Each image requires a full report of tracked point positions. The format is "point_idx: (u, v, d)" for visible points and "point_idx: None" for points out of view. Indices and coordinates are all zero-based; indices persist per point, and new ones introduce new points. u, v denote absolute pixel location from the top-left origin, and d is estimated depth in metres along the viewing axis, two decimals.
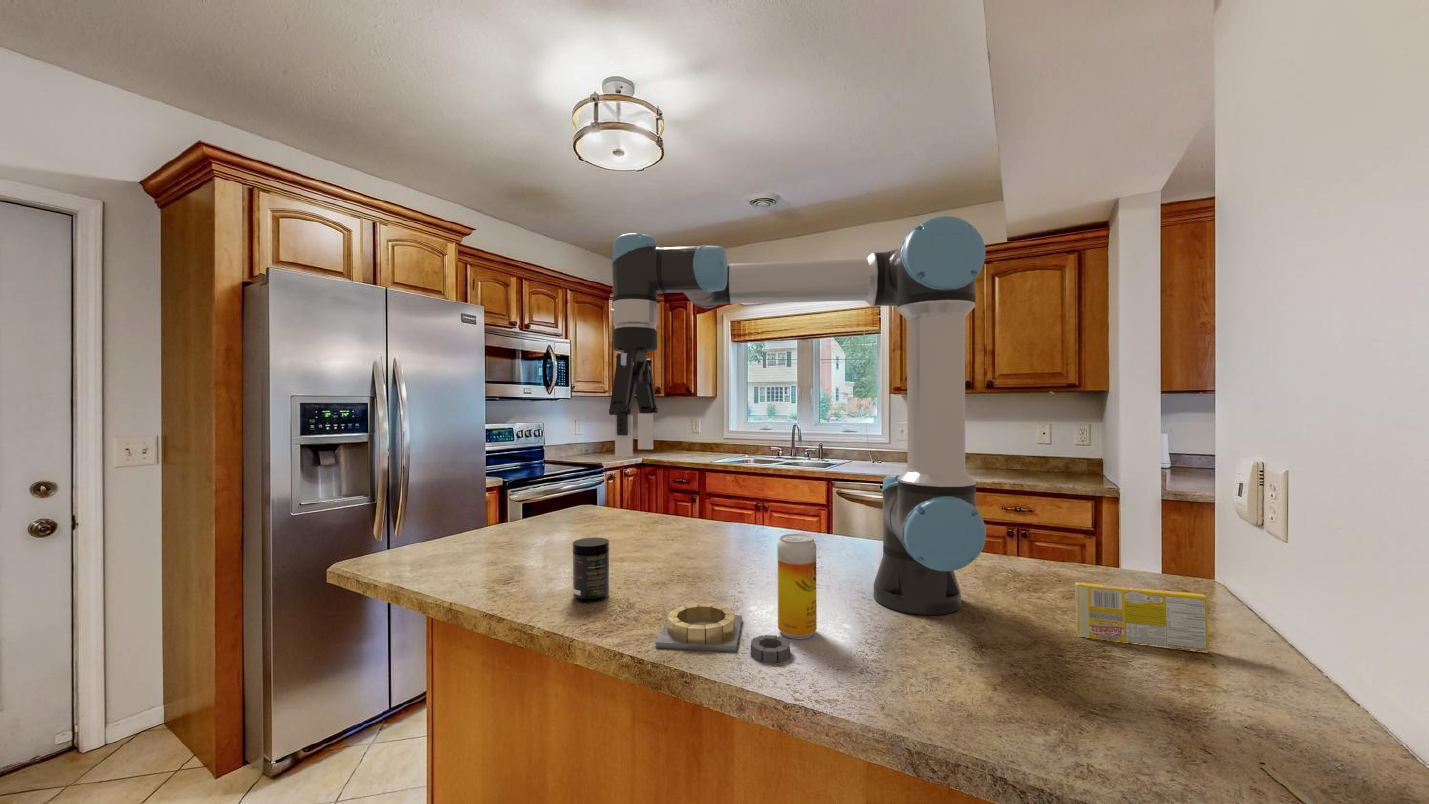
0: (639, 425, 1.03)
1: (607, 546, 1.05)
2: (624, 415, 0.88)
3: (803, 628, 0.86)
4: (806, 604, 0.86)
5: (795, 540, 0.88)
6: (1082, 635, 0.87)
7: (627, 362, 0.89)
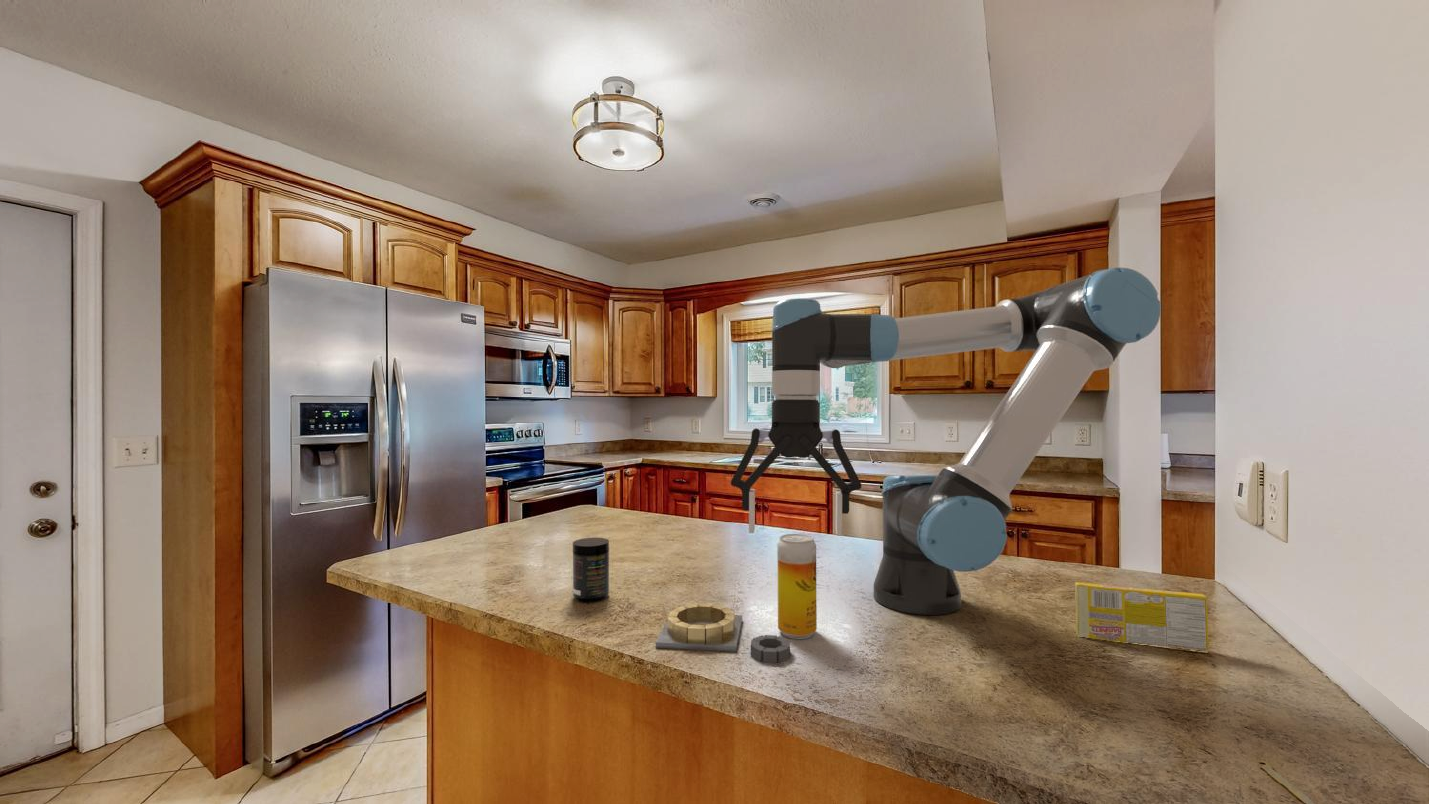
0: None
1: (607, 546, 1.05)
2: None
3: (803, 628, 0.86)
4: (806, 604, 0.86)
5: (795, 540, 0.88)
6: (1082, 635, 0.87)
7: None
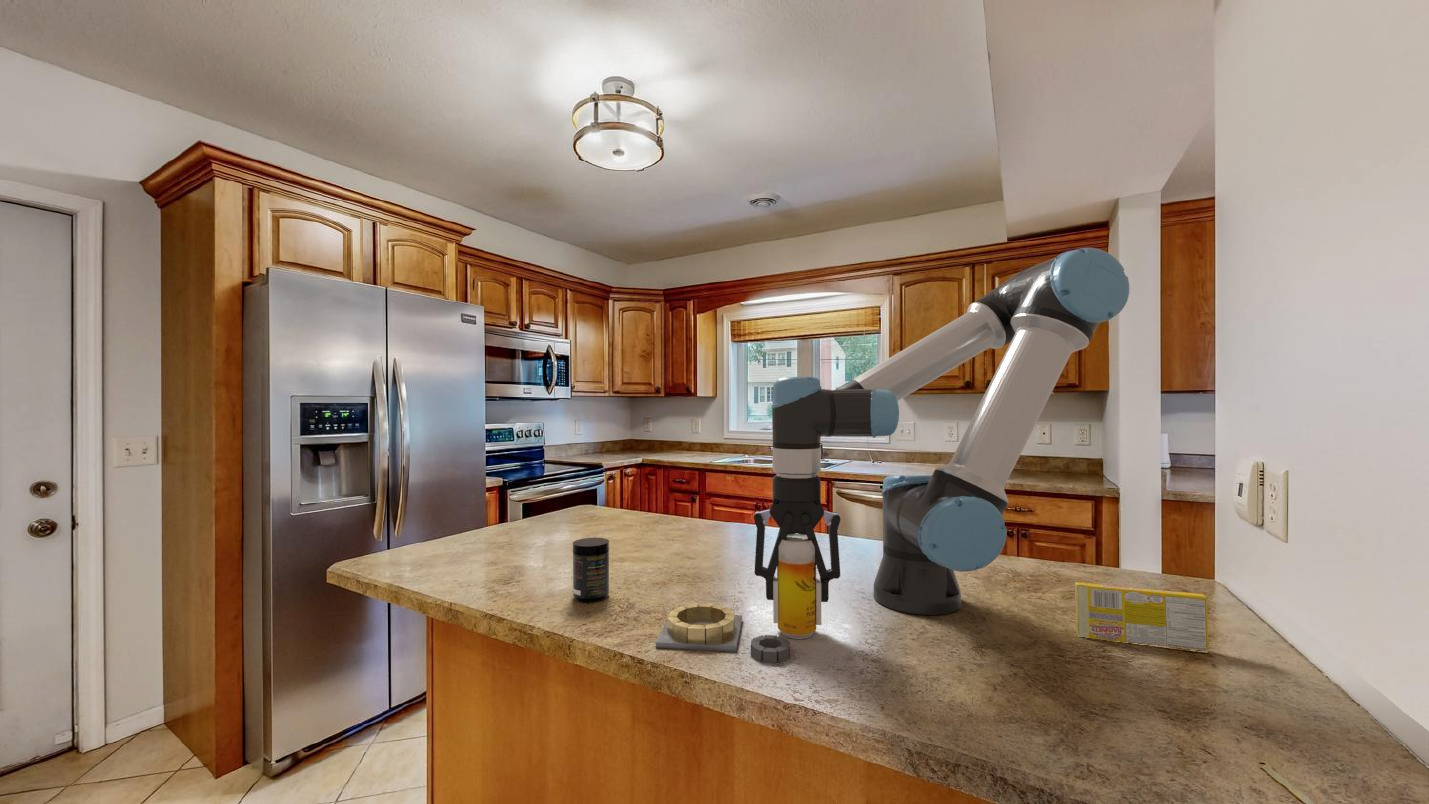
0: None
1: (607, 546, 1.05)
2: (765, 579, 0.89)
3: (803, 628, 0.86)
4: (806, 604, 0.86)
5: (795, 540, 0.88)
6: (1082, 635, 0.87)
7: (756, 523, 0.89)
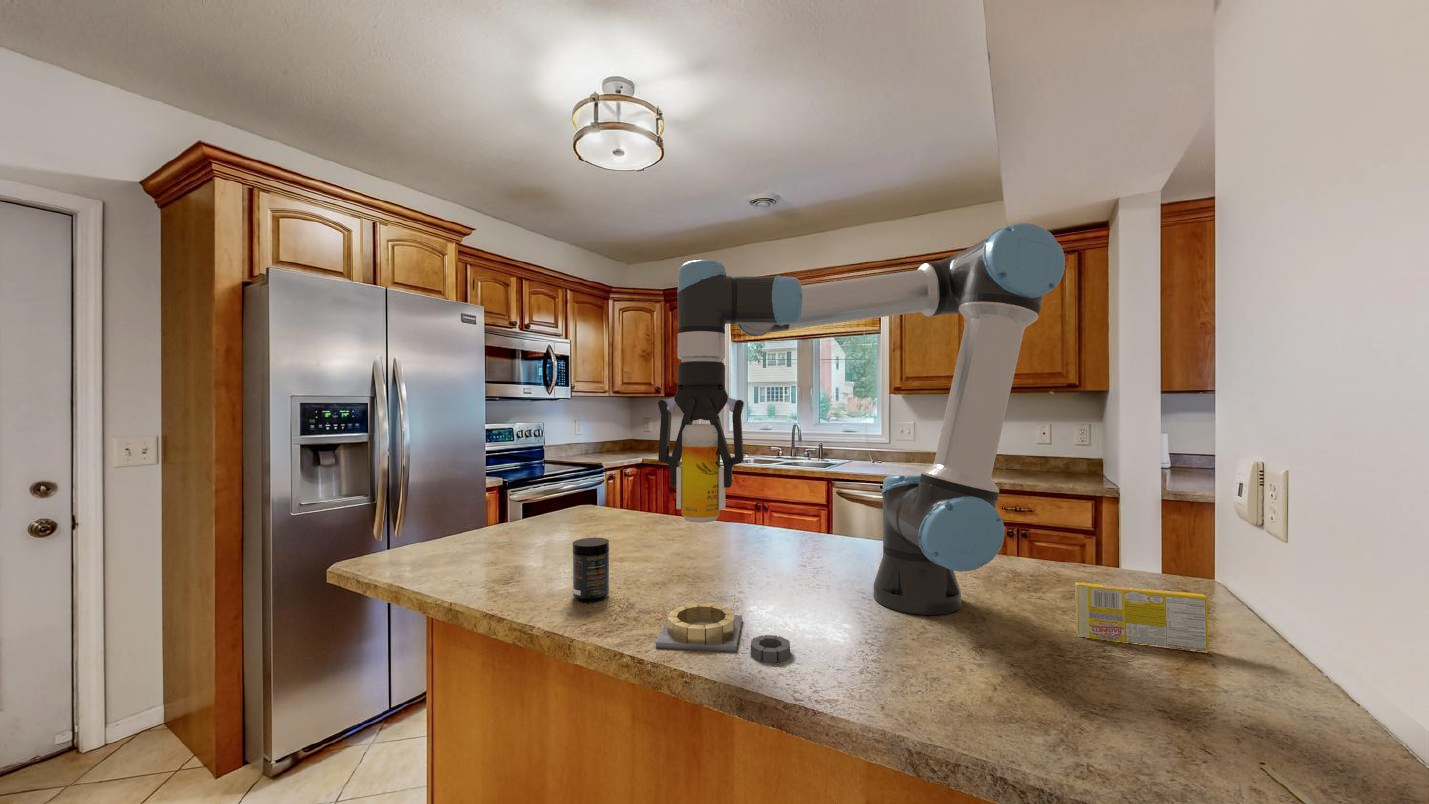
0: None
1: (607, 546, 1.05)
2: (670, 466, 0.89)
3: (704, 511, 0.86)
4: (707, 487, 0.86)
5: None
6: (1082, 635, 0.87)
7: None
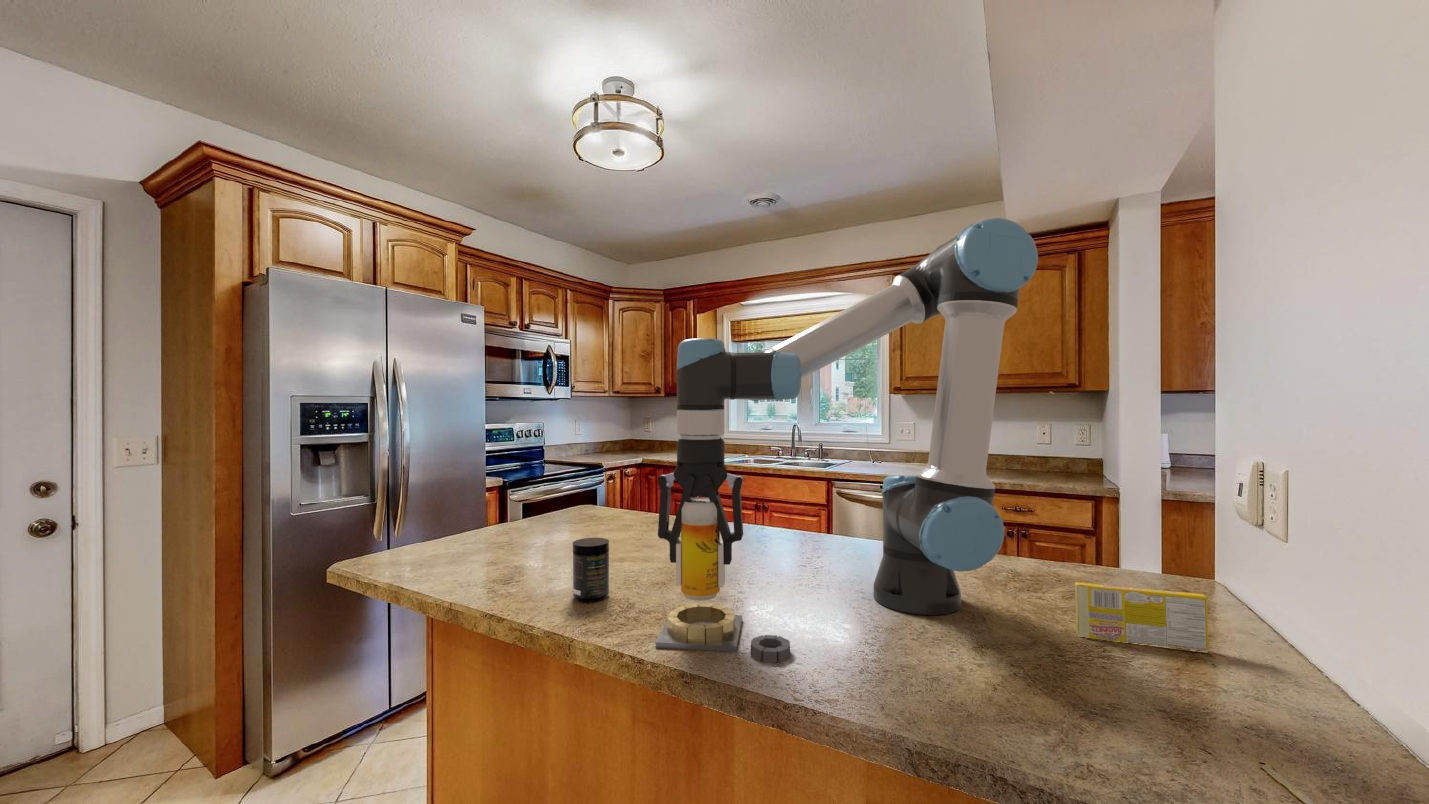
0: None
1: (607, 546, 1.05)
2: (669, 542, 0.89)
3: (704, 590, 0.86)
4: (707, 566, 0.86)
5: (698, 502, 0.88)
6: (1082, 635, 0.87)
7: None
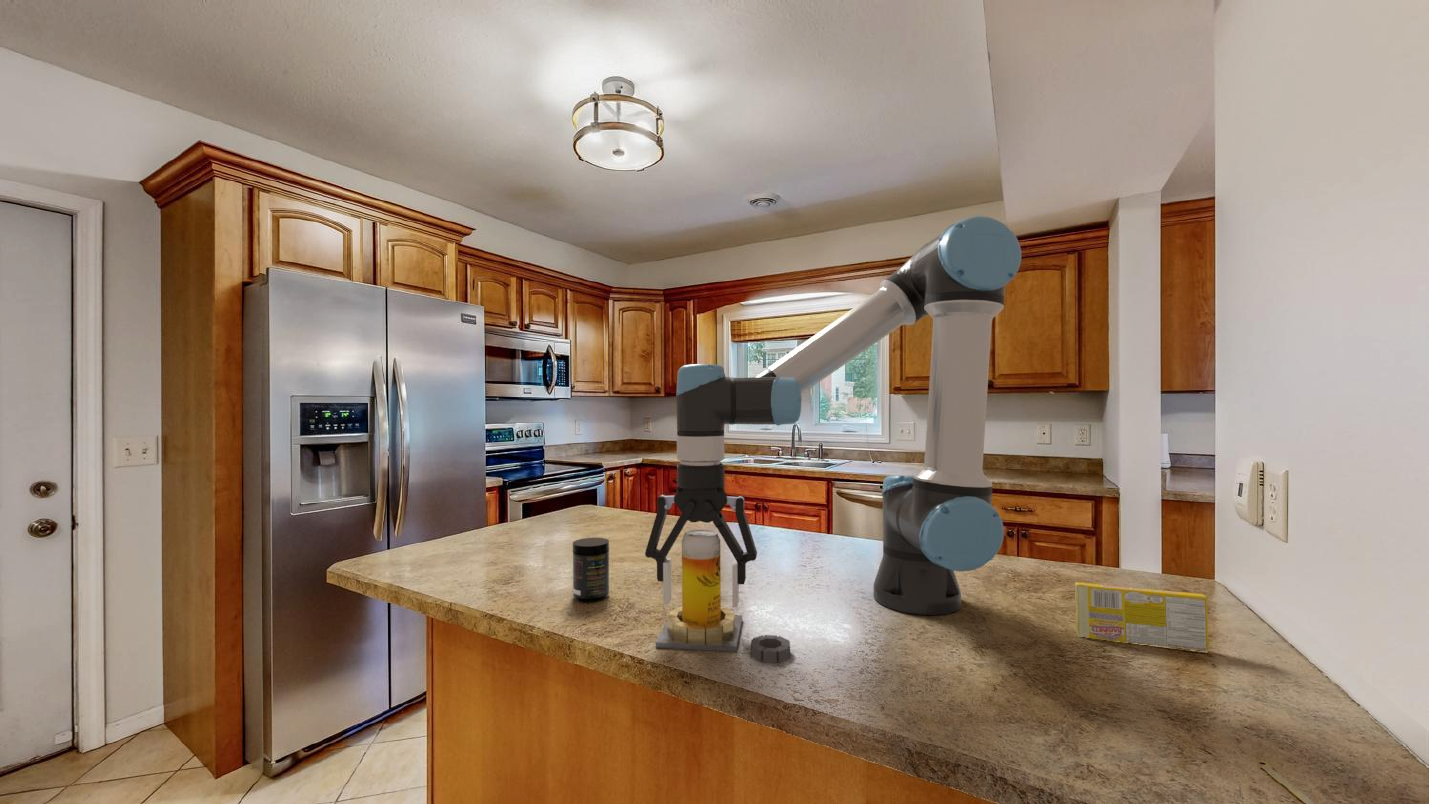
0: None
1: (607, 546, 1.05)
2: (656, 561, 0.89)
3: (705, 624, 0.86)
4: (708, 600, 0.86)
5: (698, 535, 0.88)
6: (1082, 635, 0.87)
7: None
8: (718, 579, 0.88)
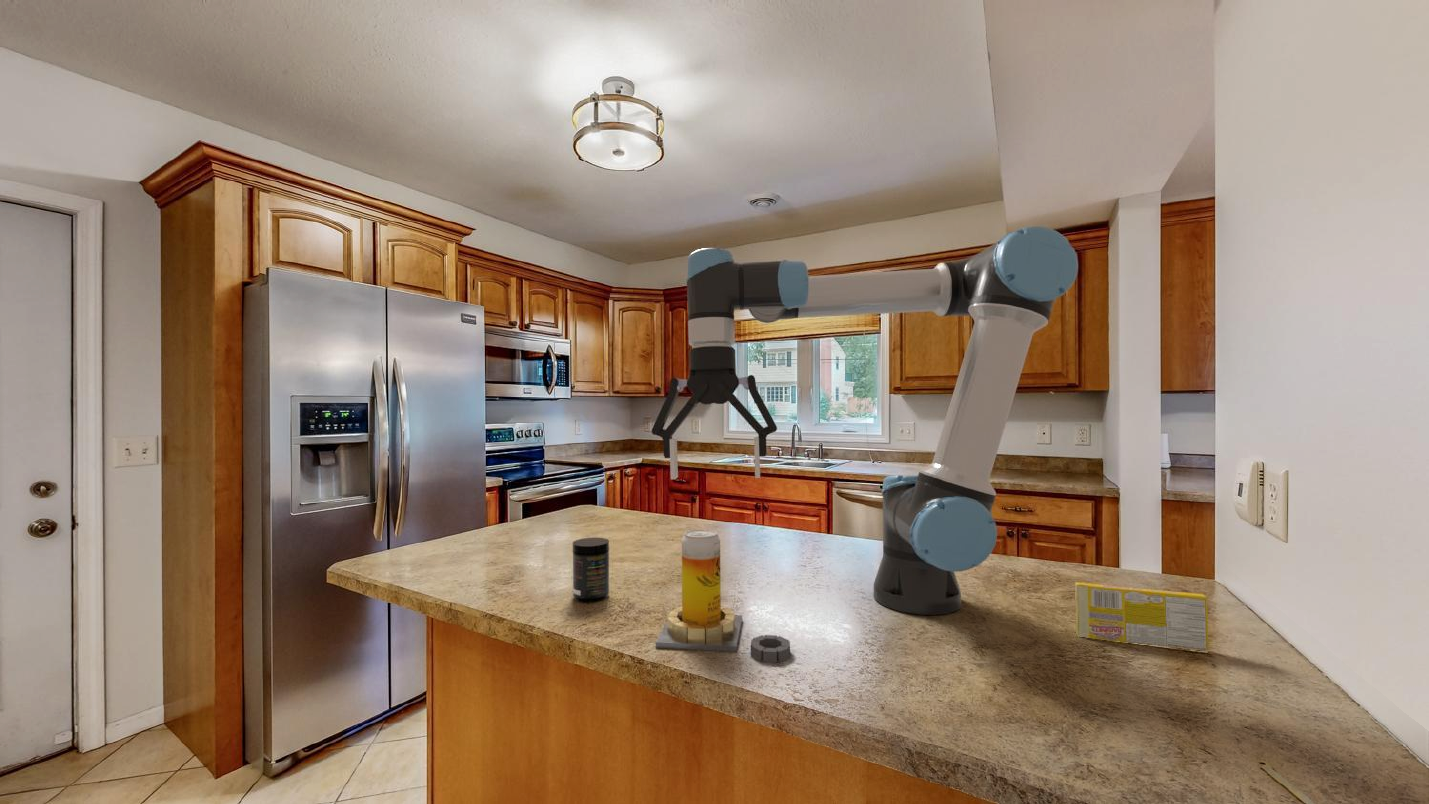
0: None
1: (607, 546, 1.05)
2: (663, 438, 0.92)
3: (705, 624, 0.86)
4: (708, 600, 0.86)
5: (698, 535, 0.88)
6: (1082, 635, 0.87)
7: None
8: (718, 579, 0.88)
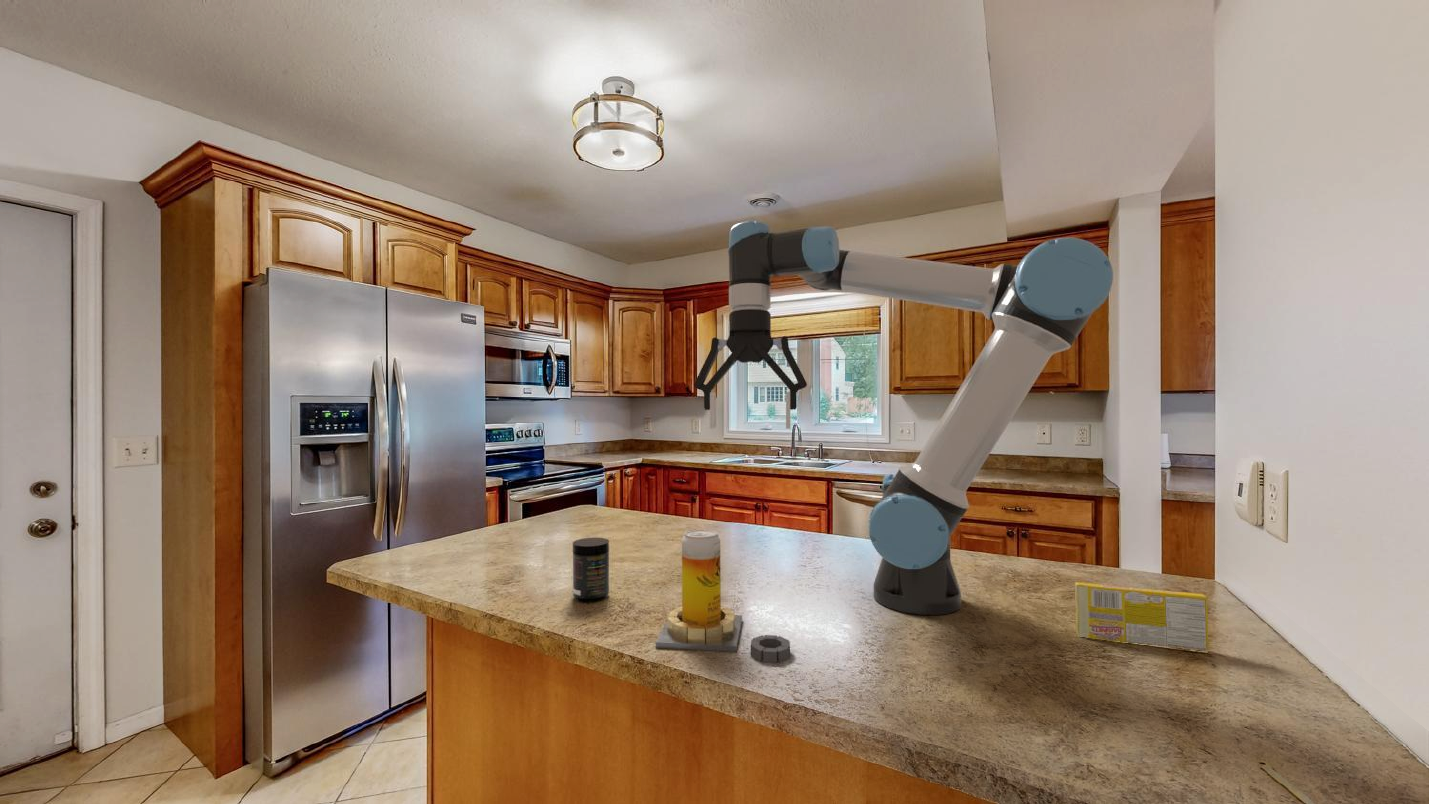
0: None
1: (607, 546, 1.05)
2: None
3: (705, 624, 0.86)
4: (708, 600, 0.86)
5: (698, 535, 0.88)
6: (1082, 635, 0.87)
7: None
8: (718, 579, 0.88)
